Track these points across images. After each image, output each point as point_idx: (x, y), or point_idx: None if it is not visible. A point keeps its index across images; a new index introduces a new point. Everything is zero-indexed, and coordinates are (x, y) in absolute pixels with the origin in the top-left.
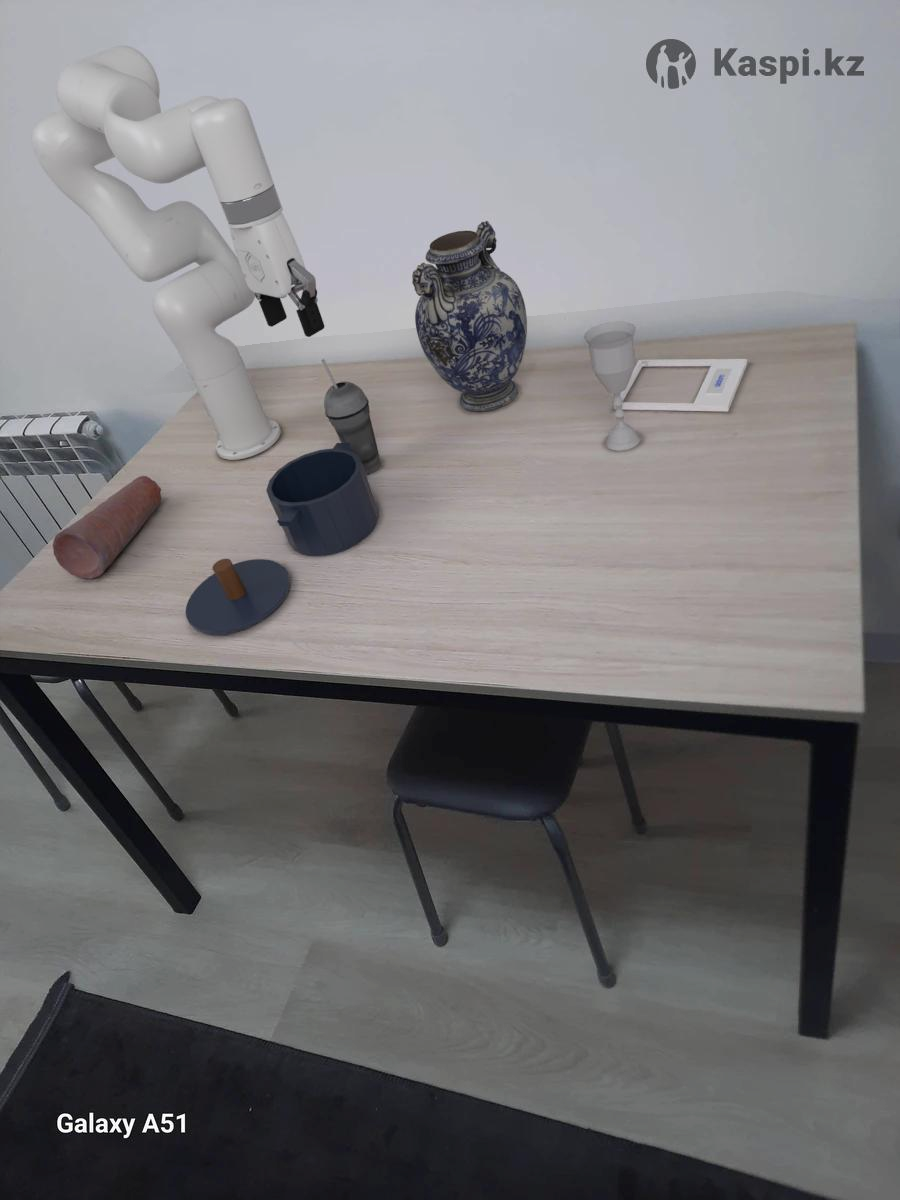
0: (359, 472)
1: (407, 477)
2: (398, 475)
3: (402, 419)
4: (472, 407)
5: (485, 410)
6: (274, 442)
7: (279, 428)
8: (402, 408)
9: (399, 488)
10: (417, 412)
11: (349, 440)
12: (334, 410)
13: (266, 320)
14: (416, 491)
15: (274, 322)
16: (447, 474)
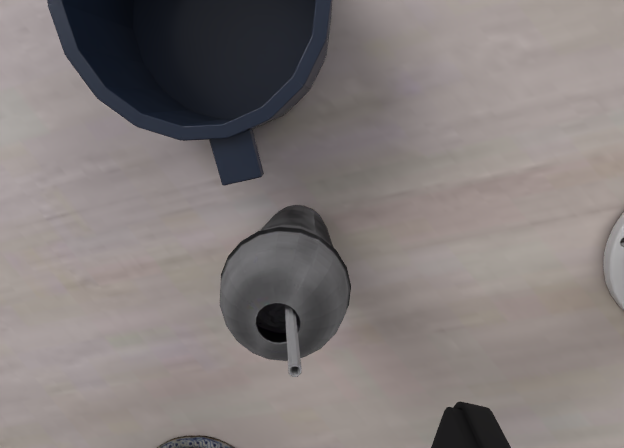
0: (64, 51)
1: (184, 221)
2: (208, 222)
3: (335, 392)
4: (194, 442)
5: (170, 440)
6: (604, 260)
7: (620, 304)
8: (361, 425)
9: (174, 184)
10: (317, 418)
11: (275, 222)
12: (270, 241)
13: (501, 438)
14: (131, 184)
15: (441, 443)
16: (108, 249)
